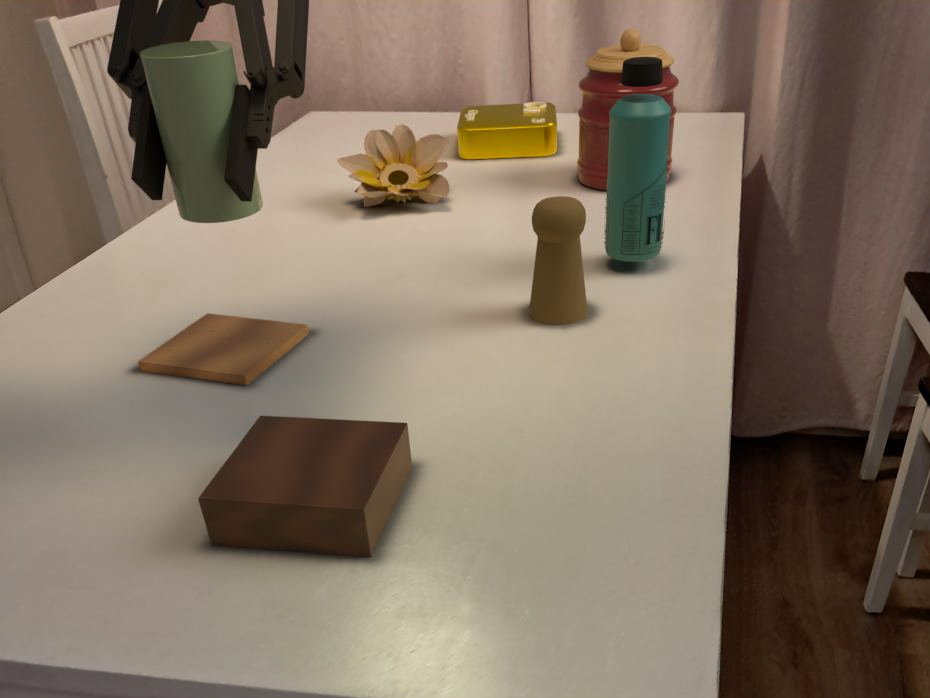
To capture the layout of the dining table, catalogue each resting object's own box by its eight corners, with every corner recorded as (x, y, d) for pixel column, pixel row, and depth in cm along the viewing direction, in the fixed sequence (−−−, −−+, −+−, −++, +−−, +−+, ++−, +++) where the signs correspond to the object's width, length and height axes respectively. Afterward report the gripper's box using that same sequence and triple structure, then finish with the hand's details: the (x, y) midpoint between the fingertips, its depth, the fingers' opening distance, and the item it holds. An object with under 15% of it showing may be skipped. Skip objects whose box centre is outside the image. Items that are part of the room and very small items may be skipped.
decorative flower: (332, 209, 118) (328, 119, 114) (342, 204, 128) (338, 122, 124) (449, 211, 119) (449, 122, 114) (449, 207, 129) (450, 125, 124)
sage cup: (162, 220, 66) (119, 56, 59) (210, 194, 70) (175, 39, 63) (234, 226, 64) (198, 58, 57) (278, 200, 68) (249, 40, 61)
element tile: (463, 135, 150) (461, 102, 147) (555, 131, 150) (555, 98, 146) (457, 161, 139) (455, 125, 136) (557, 156, 138) (557, 121, 135)
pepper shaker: (590, 324, 92) (594, 207, 85) (530, 326, 92) (528, 211, 85) (584, 300, 97) (588, 188, 89) (527, 303, 97) (525, 191, 89)
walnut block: (211, 545, 66) (197, 498, 64) (270, 459, 75) (260, 415, 72) (371, 557, 64) (363, 509, 62) (412, 468, 73) (407, 422, 70)
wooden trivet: (140, 371, 89) (137, 361, 88) (209, 322, 97) (207, 312, 97) (247, 386, 85) (244, 375, 85) (309, 333, 94) (307, 324, 93)
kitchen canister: (572, 193, 125) (574, 39, 113) (581, 166, 134) (584, 21, 122) (669, 193, 122) (682, 36, 111) (672, 165, 132) (684, 18, 120)
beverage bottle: (647, 279, 100) (662, 66, 87) (591, 270, 103) (598, 62, 90) (670, 260, 104) (688, 53, 91) (617, 251, 107) (626, 50, 94)
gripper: (379, -94, 66) (342, 220, 65) (136, -83, 69) (97, 216, 68) (346, -195, 58) (304, 159, 57) (75, -177, 62) (31, 157, 61)
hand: (192, 189), depth 63 cm, fingers closed on sage cup, 6 cm apart
